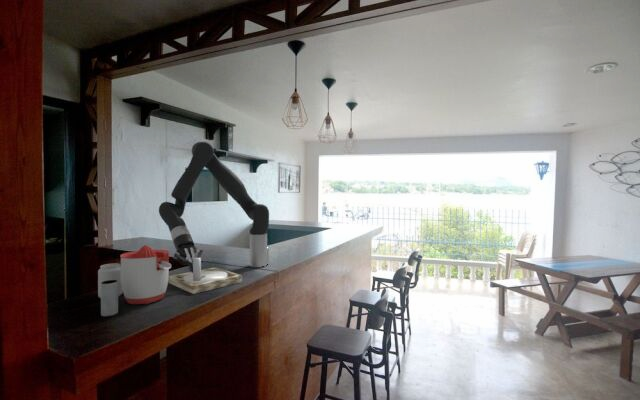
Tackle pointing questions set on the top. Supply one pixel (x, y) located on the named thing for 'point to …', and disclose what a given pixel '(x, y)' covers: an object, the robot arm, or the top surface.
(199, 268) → the dial
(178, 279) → the dial housing
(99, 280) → the can
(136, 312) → the top surface
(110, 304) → the grey tall cylinder
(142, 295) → the citrus juicer
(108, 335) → the top surface
